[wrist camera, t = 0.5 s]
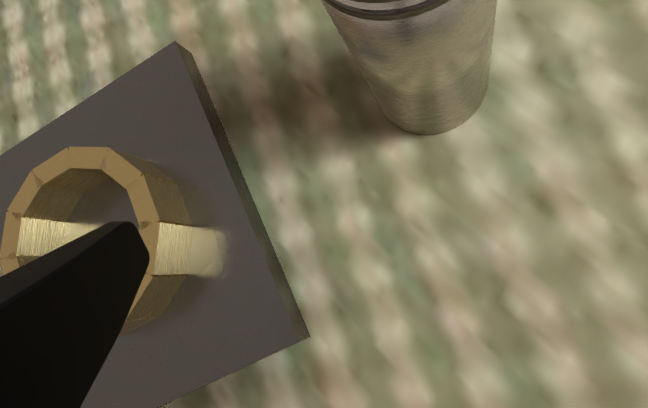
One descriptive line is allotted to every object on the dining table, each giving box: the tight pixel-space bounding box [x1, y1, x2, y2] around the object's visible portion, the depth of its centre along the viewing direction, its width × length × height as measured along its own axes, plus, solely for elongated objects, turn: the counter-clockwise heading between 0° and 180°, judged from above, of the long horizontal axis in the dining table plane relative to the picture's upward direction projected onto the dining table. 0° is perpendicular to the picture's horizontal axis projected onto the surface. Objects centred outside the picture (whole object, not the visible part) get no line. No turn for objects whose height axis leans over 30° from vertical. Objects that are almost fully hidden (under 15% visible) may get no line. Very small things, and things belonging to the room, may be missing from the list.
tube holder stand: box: [0, 41, 310, 408], centre depth 23 cm, size 16×14×4 cm
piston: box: [321, 0, 497, 135], centre depth 15 cm, size 5×5×12 cm
